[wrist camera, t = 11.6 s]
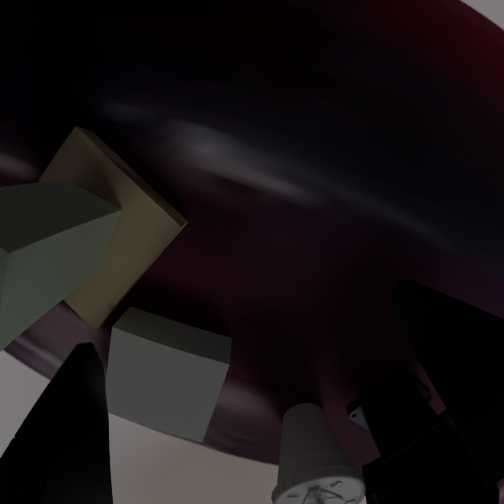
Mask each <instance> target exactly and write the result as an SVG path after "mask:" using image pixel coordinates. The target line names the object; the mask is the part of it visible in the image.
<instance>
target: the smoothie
mask: <svg viewBox="0 0 504 504" xmlns="http://www.w3.org/2000/svg"><path fill="white" fill-rule="evenodd" d="M365 494H366V485H365V483H364V477H363V475H362V474H361V472H359V471H357V470H356V469H354V468H353V466H352V464H351V462H350V460H349V459H348V457H347V455H346V453H345V451H344V449H343V447H342V446H341V444H340V442H339V440H338V438H337V436H336V434H335V433H334V431H333V429H332V427H331V425H330V423H329V421H328V419H327V418H326V416H325V414H324V412H323V410H322V409H321V408H320V407H319V406H317V405H315V404H311V403H302V404H298V405H295V406H293V407H291V408H290V409H289V410H288V411H287V412H286V413H285V414H284V416H283V422H282V435H281V448H280V459H279V471H278V481H277V486H276V487H275V489H274V490H273V492H272V498H271V499H272V502H273V504H359V503H360V502H361V500H363V498H364V496H365Z"/></svg>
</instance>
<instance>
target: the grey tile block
mask: <svg viewBox="0 0 504 504" xmlns="http://www.w3.org/2000/svg"><path fill="white" fill-rule="evenodd" d="M231 342H232V338H230V337H226V336H223V335H219V334H216V333H212V332H209V331H206V330H202V329H199V328H196V327H192V326H189V325H186V324H183V323H179V322H176V321H173V320H170V319H167V318H164V317H161V316H158V315H155V314H152V313H149V312H146V311H143V310H140V309H137V308H134V307H131V306H130V307H129V308H128V309H127V311H126V312H125V313H124V314H123V315H122V316H121V318H120V319H119V320H118V321H117V322H116V323H115V325H114V326H113V327H112V333H111V341H110V349H109V358H108V368H107V378H106V399H107V408H108V413H111V414H114V415H116V416H119V417H122V418H124V419H127V420H130V421H133V422H135V423H138V424H141V425H144V426H147V427H150V428H153V429H156V430H160V431H163V432H166V433H169V434H173V435H176V436H180V437H183V438H187V439H191V440H195V441H199V442H202V441H203V438H204V435H205V433H206V430H207V427H208V424H209V421H210V419H211V416H212V413H213V410H214V407H215V405H216V402H217V399H218V396H219V393H220V390H221V388H222V385H223V382H224V379H225V376H226V373H227V371H228V368H229V365H230V354H231Z"/></svg>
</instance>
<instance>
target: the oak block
mask: <svg viewBox="0 0 504 504" xmlns="http://www.w3.org/2000/svg"><path fill="white" fill-rule="evenodd" d="M58 180H69V181H71V182H72V183H74V184H76V185H78V186H80V187H81V188H83V189H85V190H87V191H89V192H91V193H92V194H94V195H96V196H98V197H100V198H101V199H103V200H105V201H107V202H109V203H111V204H113V205H114V206H116V207H118V208H120V209H122V212H121V214H120V217H119V219H118V222H117V224H116V226H115V229H114V231H113V234H112V236H111V239H110V241H109V244H108V247H107V249H106V252H105V254H104V257H103V260H102V262H101V265H100V268H99V271H98V273H96V274H95V275H94V276H92V277H91V278H90V279H88V280H87V281H86V282H84V283H83V284H82V285H80V286H79V287H78V288H77V289H75V290H74V291H73V292H71V293H70V294H69V295H68V296H66V297H65V298H64V299H63V300H64V301H65V302H66V303H67V304H68V305H69V306H70V307H71V308H72V309H73V310H74V311H75V312H76V313H78V314H79V315H80V316H81V317H82V318H83V319H84V320H85V321H86V322H87V323H88V324H89V325H90V326H91V327H92V328H93V329H95V330H97V329H98V328H99V327H100V326H101V325H102V324H103V323H104V321H105V320H106V319H107V318H108V317H109V316H110V315H111V313H112V312H113V311H114V310H115V308H116V307H117V306H118V305H119V303H120V302H121V301H122V300H123V298H124V297H125V296H126V295H127V293H128V292H129V291H130V290H131V288H132V287H133V286H134V285H135V283H136V282H137V281H138V280H139V279H140V277H141V276H142V275H143V274H144V273H145V271H146V270H147V269H148V268H149V267H150V265H151V264H152V263H153V262H154V261H155V260H156V258H157V257H158V256H159V255H160V254H161V252H162V251H163V250H164V249H165V248H166V247H167V245H168V244H169V243H170V242H171V241H172V240H173V239H174V237H175V236H176V235H177V234H178V233H179V232H180V231H181V229H182V228H183V227H184V226H185V225H186V224H187V223H188V221H187V220H186V219H185V218H184V217H183V216H182V215H181V214H180V213H179V212H178V211H176V210H175V209H174V208H173V207H172V206H171V205H170V204H169V203H168V202H167V201H166V200H165V199H163V198H162V197H161V196H160V195H159V194H158V193H157V192H156V191H155V190H154V189H153V188H152V187H151V186H150V185H148V184H147V183H146V182H145V181H144V180H143V179H142V178H141V177H140V176H139V175H138V174H137V173H136V172H135V171H134V170H133V169H131V168H130V167H129V166H128V165H127V164H126V163H125V162H124V161H123V160H122V159H121V158H120V157H119V156H118V155H117V154H116V153H115V152H113V151H112V150H111V149H110V148H109V147H108V146H107V145H106V144H105V143H104V142H103V141H102V140H101V139H100V138H99V137H98V136H97V135H96V134H95V133H94V132H93V131H91V130H87V129H84V128H80V127H77V126H76V127H75V128H74V129H73V131H72V132H71V133H70V135H69V136H68V138H67V139H66V140H65V142H64V143H63V145H62V146H61V147H60V149H59V150H58V152H57V153H56V155H55V156H54V158H53V159H52V161H51V162H50V164H49V166H48V167H47V169H46V170H45V172H44V173H43V175H42V177H41V178H40V180H39V182H48V181H58ZM39 182H38V183H39Z"/></svg>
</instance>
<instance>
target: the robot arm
mask: <svg viewBox="0 0 504 504" xmlns="http://www.w3.org/2000/svg"><path fill="white" fill-rule="evenodd" d="M391 309H392V311H393V313H394V315H395V317H396V319H397V321H398V323H399V325H400V327H401V329H402V331H403V333H404V335H405V337H406V339H407V341H408V343H409V345H410V347H411V349H412V351H413V352H414V354H415V356H416V357H417V359H418V360H419V362H420V364H421V365H422V367H423V369H424V370H425V372H426V374H427V376H428V377H429V379H430V381H431V382H432V384H433V386H434V388H435V389H436V391H437V393H438V395H439V396H440V398H441V400H442V402H443V404H444V405H445V407H446V409H445V410H444V411H443V412H442V413H440V414H439V415H437V414H436V412H435V411H434V410H433V408H432V407H431V406H430V404H429V402H430V401H431V400H432V395H431V394H430V393H429V392H428V391H427V390H426V389H425V388H424V387H423V386H422V385H421V384H420V383H419V382H418V381H417V380H416V379H414V378H413V377H412V376H411V375H410V374H409V373H408V372H407V371H406V370H405V369H404V368H402V367H399V368H397V369H396V370H395V371H394V372H393V373H392V374H391V375H390V376H389V377H387V378H386V379H385V380H384V381H383V382H382V383H381V384H380V385H379V386H378V387H377V388H375V389H374V390H373V391H372V392H371V393H370V394H369V395H368V396H366V397H365V398H364V399H363V400H362V401H361V402H359V403H358V404H357V405H356V406H355V407H353V408H352V409H351V410H350V411H349V412H348V417H349V418H350V419H351V420H352V421H354V422H355V423H357V424H359V425H360V426H362V427H363V428H365V429H366V430H368V431H370V433H371V435H372V437H373V439H374V441H375V443H376V446H377V448H378V450H379V452H380V455H381V456H380V457H379V458H377V459H376V460H374V461H372V462H371V463H369V464H368V463H367V464H366V465H364V466H362V471H363V474H362V475H363V477H364V483H365V485H366V494H365V495H366V502H367V504H499V489H498V488H497V482H499V481H500V480H502V479H503V478H504V319H502V318H499V317H498V316H495V315H493V314H491V313H488V312H486V311H484V310H481V309H479V308H476V307H474V306H472V305H469V304H467V303H465V302H462V301H460V300H457V299H455V298H453V297H450V296H448V295H445V294H443V293H440V292H438V291H436V290H433V289H431V288H428V287H426V286H423V285H421V284H418V283H416V282H413V281H411V280H403V281H400V282H398V283H397V284H396V285H395V289H394V292H393V296H392V299H391ZM400 372H401V373H400ZM399 373H400V374H399ZM352 414H354V415H352ZM110 472H111V471H110V453H109V418H108V408H107V399H106V389H105V377H104V367H103V363H102V361H101V359H100V357H99V355H98V353H97V351H96V349H95V347H94V345H93V344H92V343H91V342H85V343H79V344H77V345H76V346H75V347H74V349H73V350H72V352H71V353H70V354H69V356H68V357H67V358H66V360H65V361H64V363H63V364H62V365H61V367H60V368H59V370H58V371H57V372H56V374H55V375H54V377H53V378H52V380H51V381H50V382H49V384H48V385H47V387H46V388H45V390H44V391H43V393H42V394H41V396H40V397H39V399H38V400H37V402H36V403H35V405H34V406H33V408H32V409H31V411H30V412H29V414H28V415H27V417H26V419H25V420H24V421H23V423H22V425H21V426H20V428H19V429H18V431H17V433H16V434H15V438H13V439H12V440H11V442H10V444H9V446H8V447H7V449H6V450H5V452H4V453H3V455H2V457H1V458H0V504H113V498H112V485H111V473H110Z"/></svg>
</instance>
